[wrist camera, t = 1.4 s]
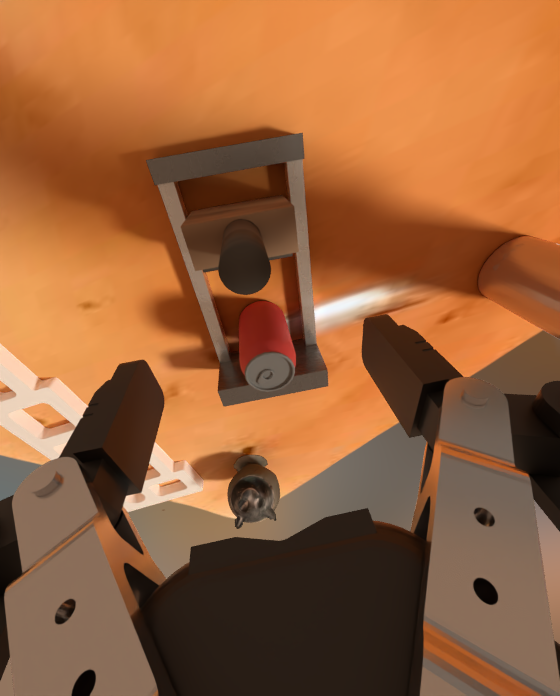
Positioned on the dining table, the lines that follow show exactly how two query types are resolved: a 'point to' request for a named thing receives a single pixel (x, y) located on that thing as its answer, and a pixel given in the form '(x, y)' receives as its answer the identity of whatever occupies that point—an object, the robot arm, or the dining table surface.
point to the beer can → (265, 347)
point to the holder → (53, 440)
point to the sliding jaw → (242, 240)
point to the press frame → (166, 176)
